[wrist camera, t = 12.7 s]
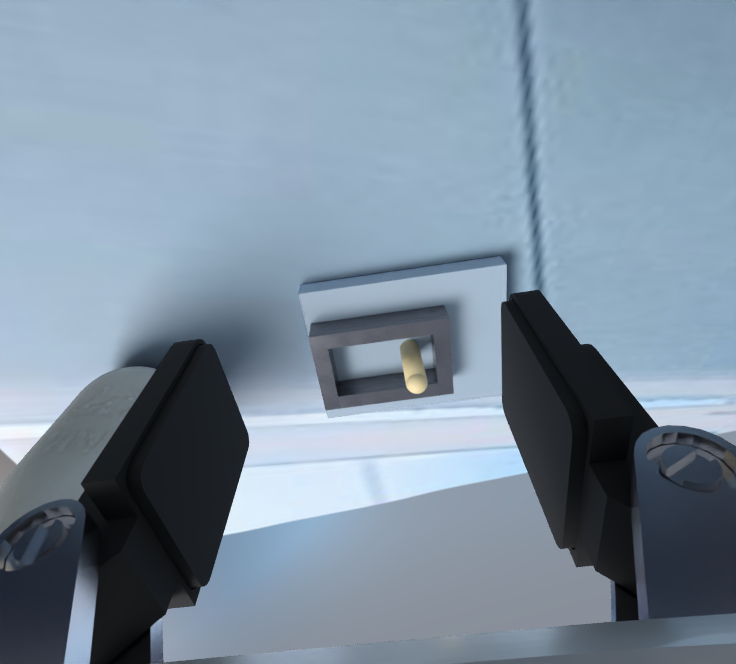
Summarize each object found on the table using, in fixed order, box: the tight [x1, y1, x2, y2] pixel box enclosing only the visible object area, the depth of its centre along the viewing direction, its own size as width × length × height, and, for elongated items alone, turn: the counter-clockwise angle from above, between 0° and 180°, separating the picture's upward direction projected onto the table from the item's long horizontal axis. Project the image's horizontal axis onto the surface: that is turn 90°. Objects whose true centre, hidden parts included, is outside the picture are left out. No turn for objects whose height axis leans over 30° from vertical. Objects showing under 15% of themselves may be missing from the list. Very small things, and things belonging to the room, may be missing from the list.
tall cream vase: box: [0, 366, 156, 534], centre depth 35 cm, size 10×10×28 cm
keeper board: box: [298, 256, 507, 418], centre depth 41 cm, size 18×14×8 cm
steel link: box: [309, 305, 454, 410], centre depth 42 cm, size 12×8×2 cm, turn 98°
